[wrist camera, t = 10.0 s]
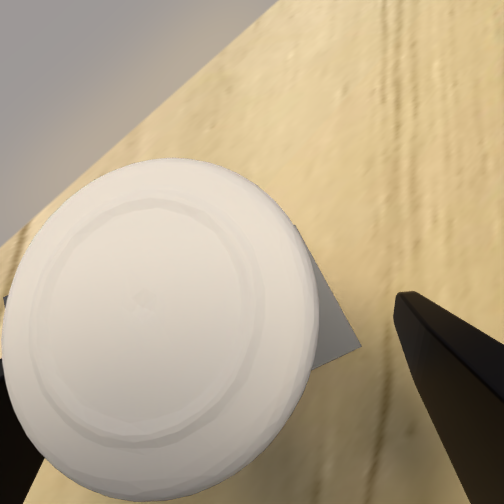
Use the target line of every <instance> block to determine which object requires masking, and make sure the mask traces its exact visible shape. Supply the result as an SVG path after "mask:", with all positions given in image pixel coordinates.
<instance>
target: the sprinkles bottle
mask: <svg viewBox="0 0 504 504" xmlns="http://www.w3.org/2000/svg"><path fill="white" fill-rule="evenodd" d="M318 332H319V296H318V289H317V282H316V278H315V275H314V271H313V267H312V264H311V260H310V257H309V255H308V252H307V250H306V247H305V245H304V243H303V241H302V239H301V237H300V235H299V233H298V231H297V230H296V228H295V227H294V225H293V224H292V222H291V220H290V219H289V217H288V216H287V215H286V213H285V212H284V211H283V210H282V209H281V208H280V206H279V205H278V204H277V203H276V202H275V201H274V200H273V199H272V198H271V197H270V196H269V195H268V194H267V193H265V192H264V191H263V190H262V189H260V188H259V187H258V186H257V185H256V184H254V183H253V182H251V181H249V180H248V179H246V178H244V177H243V176H241V175H240V174H238V173H236V172H233V171H231V170H229V169H226V168H224V167H222V166H219V165H215V164H212V163H209V162H204V161H198V160H193V159H184V158H161V159H153V160H147V161H142V162H138V163H134V164H130V165H127V166H124V167H122V168H119V169H116V170H114V171H111V172H109V173H107V174H105V175H103V176H101V177H99V178H97V179H95V180H93V181H92V182H90V183H89V184H87V185H86V186H84V187H83V188H81V189H80V190H79V191H77V192H76V193H75V194H74V195H72V196H71V197H70V198H69V199H67V200H66V201H65V202H64V203H63V204H62V205H61V206H60V207H59V208H58V209H57V210H56V211H55V212H54V213H53V214H52V215H51V216H50V217H49V218H48V220H47V221H46V222H45V224H44V225H43V226H42V227H41V229H40V230H39V231H38V233H37V234H36V235H35V237H34V238H33V240H32V242H31V243H30V245H29V247H28V248H27V250H26V252H25V254H24V256H23V258H22V260H21V262H20V264H19V266H18V268H17V271H16V273H15V276H14V279H13V282H12V285H11V288H10V292H9V295H8V298H7V303H6V308H5V313H4V319H3V329H2V363H3V369H4V375H5V381H6V386H7V390H8V394H9V397H10V400H11V403H12V406H13V409H14V411H15V413H16V416H17V418H18V420H19V422H20V424H21V425H22V427H23V429H24V431H25V433H26V435H27V436H28V438H29V439H30V440H31V442H32V443H33V444H34V446H35V447H36V448H37V450H38V451H39V452H40V453H41V454H42V455H43V456H44V457H45V458H46V459H47V460H48V461H49V462H50V463H51V464H52V465H53V466H54V467H55V468H56V469H57V470H59V471H60V472H61V473H63V474H64V475H65V476H67V477H68V478H69V479H71V480H73V481H74V482H76V483H77V484H79V485H81V486H83V487H85V488H87V489H90V490H92V491H94V492H97V493H100V494H102V495H105V496H108V497H111V498H116V499H122V500H128V501H134V502H146V501H165V500H171V499H176V498H181V497H185V496H189V495H193V494H196V493H198V492H200V491H203V490H205V489H208V488H210V487H212V486H215V485H217V484H219V483H221V482H222V481H224V480H226V479H228V478H229V477H231V476H233V475H235V474H236V473H237V472H239V471H240V470H241V469H243V468H244V467H245V466H247V465H248V464H249V463H251V462H252V461H253V460H254V459H255V458H256V457H258V456H259V455H260V454H261V453H262V452H263V451H264V450H265V449H266V448H267V447H268V446H269V444H270V443H271V442H272V441H273V440H274V438H275V437H276V436H277V434H278V433H279V432H280V430H281V429H282V428H283V426H284V425H285V423H286V422H287V420H288V419H289V417H290V416H291V414H292V413H293V411H294V409H295V407H296V405H297V403H298V402H299V400H300V398H301V396H302V394H303V392H304V389H305V387H306V384H307V382H308V379H309V375H310V372H311V369H312V365H313V362H314V357H315V352H316V347H317V341H318Z"/></svg>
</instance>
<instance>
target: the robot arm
mask: <svg viewBox="0 0 504 504" xmlns="http://www.w3.org/2000/svg"><path fill="white" fill-rule="evenodd" d="M393 319H394V325H395V328H396V331H397V334H398V337H399V340H400V343H401V345H402V348H403V351H404V354H405V357H406V360H407V363H408V366H409V369H410V372H411V375H412V378H413V380H414V383H415V385H416V387H417V390H418V392H419V394H420V396H421V398H422V401H423V403H424V405H425V407H426V409H427V411H428V413H429V416H430V418H431V420H432V422H433V424H434V426H435V428H436V431H437V433H438V435H439V437H440V439H441V441H442V443H443V446H444V448H445V450H446V452H447V454H448V456H449V458H450V461H451V463H452V465H453V467H454V469H455V471H456V473H457V476H458V478H459V480H460V482H461V484H462V486H463V488H464V491H465V493H466V495H467V497H468V499H469V501H470V503H471V504H504V345H503V344H502V343H500V342H498V341H497V340H495V339H493V338H492V337H490V336H488V335H487V334H485V333H484V332H482V331H480V330H479V329H477V328H475V327H474V326H472V325H470V324H469V323H467V322H465V321H464V320H462V319H460V318H459V317H457V316H455V315H454V314H452V313H450V312H449V311H447V310H445V309H444V308H442V307H440V306H439V305H437V304H436V303H434V302H432V301H431V300H429V299H427V298H426V297H424V296H422V295H421V294H419V293H417V292H415V291H408V292H399V293H397V295H396V299H395V307H394V315H393ZM44 458H45V457H44V456H43V455H42V454H41V453H40V452H39V451H38V450H37V448H36V447H35V446H34V444H33V443H32V442H31V440H30V439H29V438H28V436H27V435H26V433H25V431H24V429H23V427H22V425H21V424H20V422H19V420H18V418H17V416H16V413H15V411H14V409H13V406H12V403H11V400H10V397H9V394H8V390H7V386H6V381H5V375H4V369H3V363H2V358H1V359H0V504H23V502H24V500H25V498H26V496H27V494H28V492H29V490H30V488H31V485H32V483H33V481H34V479H35V477H36V475H37V473H38V471H39V469H40V467H41V465H42V462H43V460H44Z"/></svg>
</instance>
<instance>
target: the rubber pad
mask: <svg viewBox="0 0 504 504" xmlns="http://www.w3.org/2000/svg"><path fill="white" fill-rule="evenodd" d="M294 227H295V228H296V226H295V225H294ZM296 230H297V231H298V229H297V228H296ZM298 233H299V231H298ZM299 235H300V233H299ZM300 237H301V235H300ZM301 239H302V241H303V243H304V245H305V247H306V250H307V252H308V255H309V257H310V260H311V264H312V267H313V271H314V275H315V278H316V282H317V289H318V296H319V332H318V341H317V347H316V352H315V357H314V362H313V365H312V369H311V370H313V369H315V368H317V367H319V366H321V365H324V364H326V363H328V362H330V361H332V360H334V359H336V358H338V357H341V356H343V355H345V354H347V353H349V352H351V351H353V350H355V349H358V348H360V347H362V346H361V344H360V342H359V340H358V339H357V337H356V335H355V333H354V331H353V330H352V328H351V326H350V324H349V322H348V320H347V319H346V317H345V315H344V313H343V311H342V309H341V308H340V306H339V304H338V302H337V300H336V299H335V297H334V295H333V293H332V291H331V289H330V288H329V286H328V284H327V282H326V280H325V279H324V277H323V275H322V273H321V271H320V269H319V268H318V266H317V264H316V262H315V260H314V259H313V257H312V255H311V253H310V251H309V249H308V248H307V246H306V244H305V242H304V240H303V238H302V237H301Z"/></svg>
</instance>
